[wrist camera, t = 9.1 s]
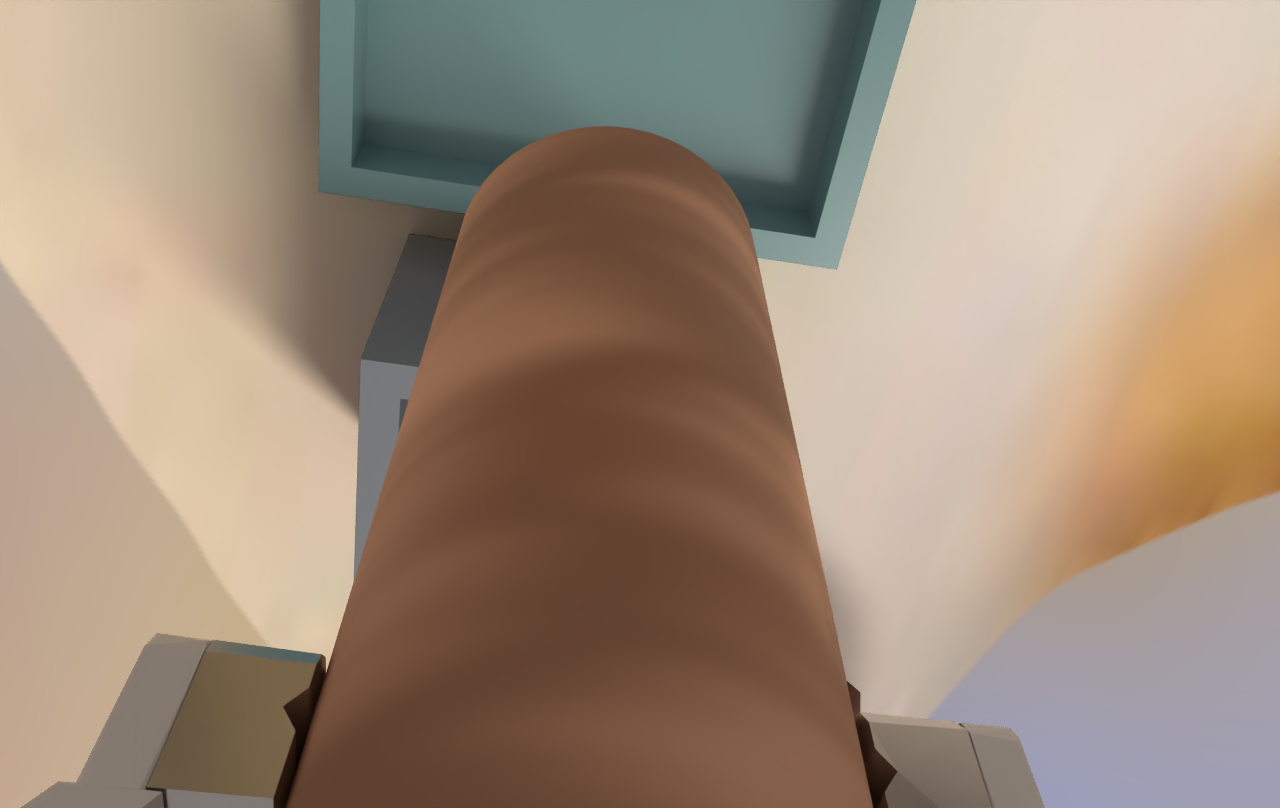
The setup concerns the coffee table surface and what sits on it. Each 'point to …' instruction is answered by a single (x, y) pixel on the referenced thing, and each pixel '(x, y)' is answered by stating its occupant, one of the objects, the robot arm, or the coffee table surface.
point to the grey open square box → (394, 367)
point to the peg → (592, 521)
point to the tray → (614, 97)
